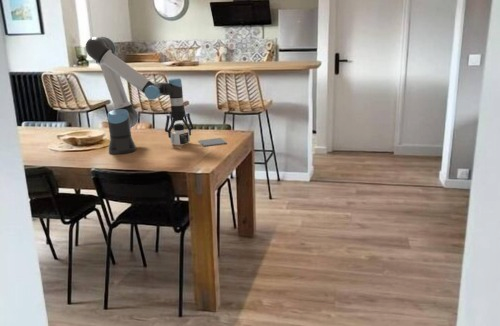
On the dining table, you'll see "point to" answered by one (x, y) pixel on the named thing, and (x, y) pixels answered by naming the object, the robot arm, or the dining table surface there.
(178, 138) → the medicine bottle
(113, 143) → the robot arm
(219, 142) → the slate coaster
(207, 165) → the dining table surface
